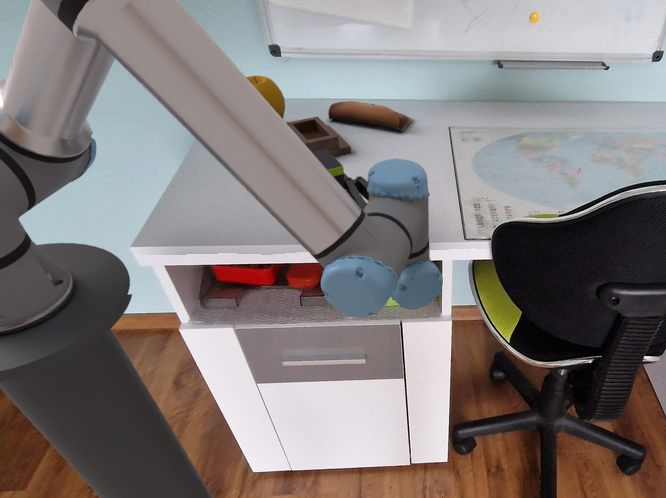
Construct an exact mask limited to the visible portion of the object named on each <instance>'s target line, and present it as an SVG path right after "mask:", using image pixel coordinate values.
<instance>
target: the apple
mask: <svg viewBox="0 0 666 498" xmlns="http://www.w3.org/2000/svg"><path fill="white" fill-rule="evenodd" d="M245 77H246V78H247V79H248V80H249V81H250V83H251V84H252V85H253V86H254V87H255V88H256V89H257V90H258V92H259V93H260V94H261V95H262V96H263V97H264V98H265V100H266V101H267V102H268V103H269V104H270V105H271V106H272V108H273V109H274V110H275V111H276V112H277V113H278V114H279V116H280V117H281V118H282V119H283V120H284V117H285V111H286V101H285V97H284V94H283V92H282V90H281V88H280V87H279V86H278V85H277V84H276V83H275V81H274V80H273V79H272V78H270V77H268V76H264V75H250V76H245Z"/></svg>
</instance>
